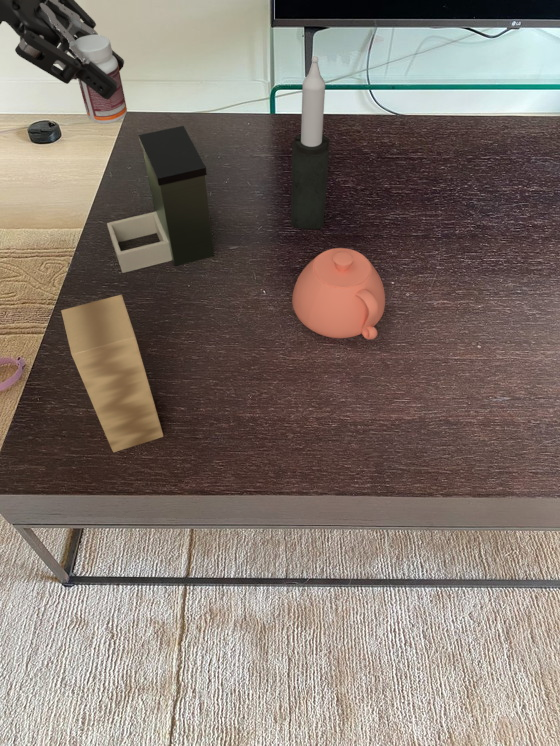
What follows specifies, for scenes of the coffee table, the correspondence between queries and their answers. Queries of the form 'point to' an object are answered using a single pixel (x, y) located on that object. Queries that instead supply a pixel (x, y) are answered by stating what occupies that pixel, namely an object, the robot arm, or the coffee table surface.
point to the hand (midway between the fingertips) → (116, 80)
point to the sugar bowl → (339, 295)
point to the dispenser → (179, 193)
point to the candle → (310, 156)
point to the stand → (112, 371)
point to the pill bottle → (101, 56)
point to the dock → (142, 254)
